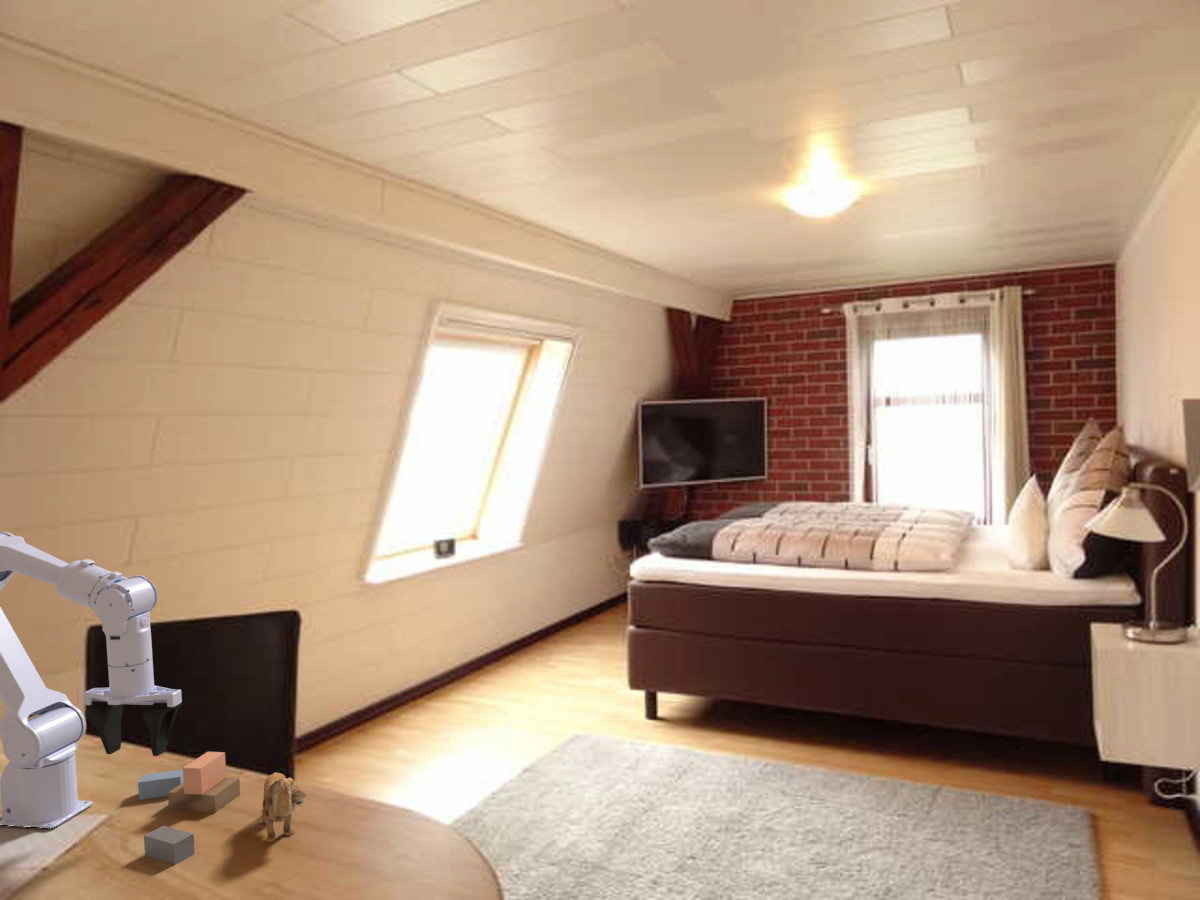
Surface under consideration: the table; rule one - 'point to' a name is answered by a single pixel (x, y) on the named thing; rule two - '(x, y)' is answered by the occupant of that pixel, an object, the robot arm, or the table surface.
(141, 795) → the slate-blue brick
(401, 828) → the table surface
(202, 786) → the terracotta brick
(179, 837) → the gray brick
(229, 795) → the walnut block
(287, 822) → the lion figurine
